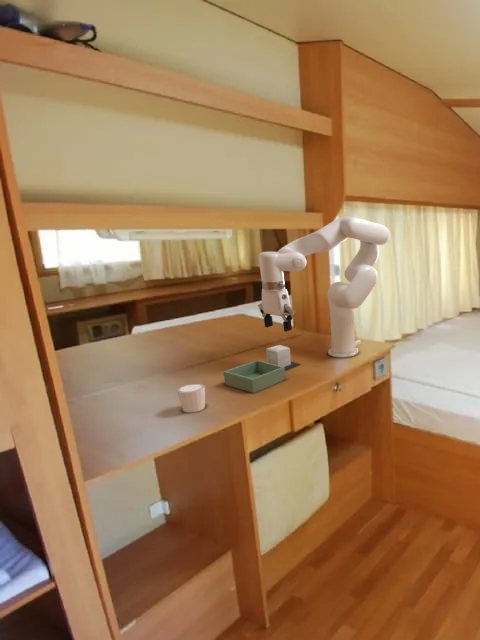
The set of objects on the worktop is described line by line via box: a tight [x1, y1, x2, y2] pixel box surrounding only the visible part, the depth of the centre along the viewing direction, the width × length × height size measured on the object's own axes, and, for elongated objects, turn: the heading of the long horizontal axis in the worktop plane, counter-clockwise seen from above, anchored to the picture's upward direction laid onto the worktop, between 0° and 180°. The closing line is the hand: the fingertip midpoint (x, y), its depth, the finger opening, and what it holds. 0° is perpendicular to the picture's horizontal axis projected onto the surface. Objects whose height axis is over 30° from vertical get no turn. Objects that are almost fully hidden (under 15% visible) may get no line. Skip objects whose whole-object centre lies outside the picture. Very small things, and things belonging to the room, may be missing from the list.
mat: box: [285, 361, 300, 371], centre depth 168 cm, size 10×10×1 cm
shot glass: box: [176, 383, 206, 413], centre depth 131 cm, size 7×7×7 cm
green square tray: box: [223, 359, 287, 394], centre depth 153 cm, size 14×14×5 cm
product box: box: [265, 344, 292, 367], centre depth 167 cm, size 6×6×7 cm
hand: (278, 328), depth 164 cm, fingers open, 9 cm apart
